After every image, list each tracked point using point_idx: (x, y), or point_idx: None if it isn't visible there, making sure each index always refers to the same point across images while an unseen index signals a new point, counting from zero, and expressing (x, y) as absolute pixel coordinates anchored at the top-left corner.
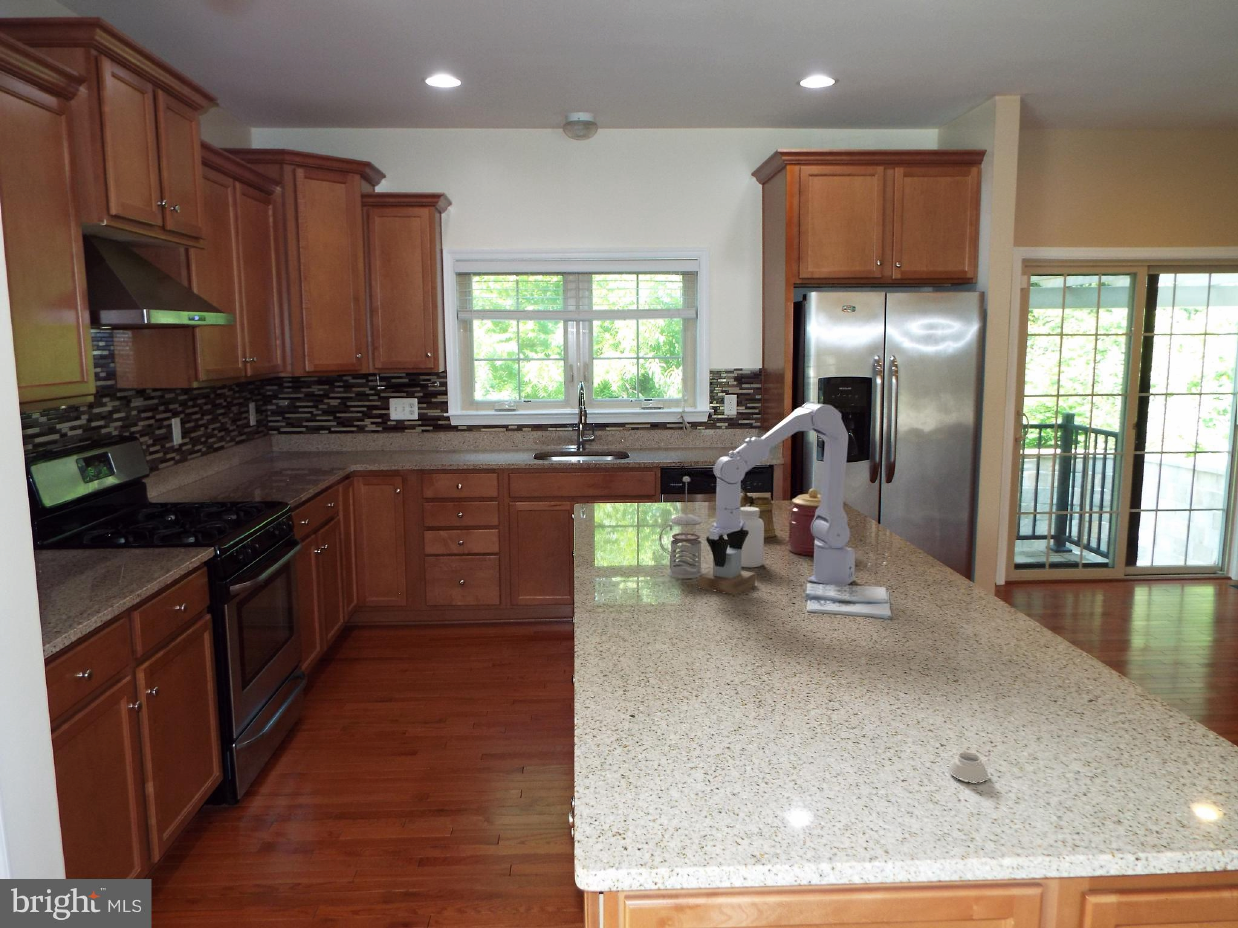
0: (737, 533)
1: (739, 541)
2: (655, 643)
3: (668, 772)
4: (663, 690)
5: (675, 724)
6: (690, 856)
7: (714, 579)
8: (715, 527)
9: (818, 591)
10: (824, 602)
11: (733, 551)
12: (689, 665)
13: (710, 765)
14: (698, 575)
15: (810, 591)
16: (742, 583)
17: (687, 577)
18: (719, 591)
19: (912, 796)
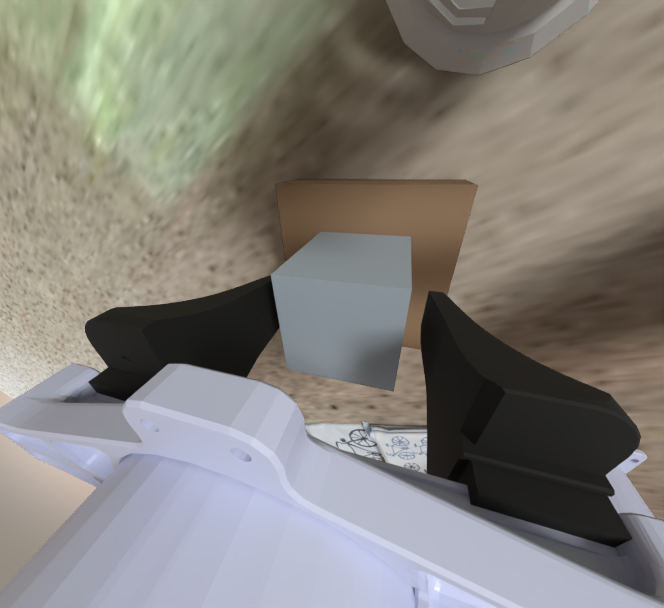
0: (440, 466)
1: (431, 413)
2: (39, 280)
3: (5, 372)
4: (22, 337)
5: (20, 361)
6: (5, 392)
7: (285, 258)
8: (118, 435)
9: (401, 448)
10: (364, 445)
11: (332, 367)
12: (62, 339)
13: (31, 387)
14: (456, 58)
15: (387, 440)
16: None
17: (400, 15)
18: None
19: None
